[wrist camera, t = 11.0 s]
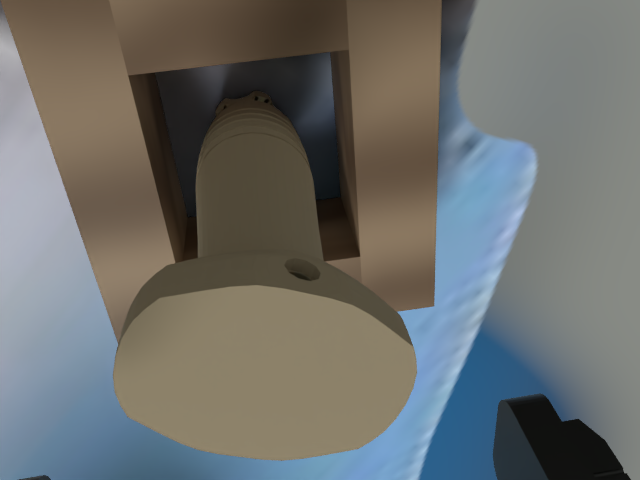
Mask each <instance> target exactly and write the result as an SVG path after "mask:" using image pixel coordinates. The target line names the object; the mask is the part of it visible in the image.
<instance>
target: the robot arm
mask: <svg viewBox="0 0 640 480" xmlns="http://www.w3.org/2000/svg"><path fill="white" fill-rule="evenodd" d="M495 431H496V432H495V439H494V449H493V461H494V468H495V472H496V476H497V479H498V480H631V479H630V478H629V476H628V475H627V474H625V473H624V471H623V467H622V466H621V464H620V462H619V461H618V459H617V458H616V456H615V455H614V453H613V452H612V450H611V449H610V447H609V446H608V444H607V443H606V441H605V440H604V439H603V438H601V437H600V436H599V435H598V434H596V433H595V432H594V431H593V430H592V429H590V428H589V427H588V426H587V425H585V424H584V423H583V422H582V421H580V420H579V419H575V420H569V421H564V422H562V421H561V419H560V418H559V416H558V415H557V413H556V411H555V410H554V408H553V406H552V404H551V403H550V401H549V400H548V399H547V398H546V396H544V395H543V394H534V395H528V396H522V397H517V398H511V399H505V400H501V401H500V402H499V405H498V413H497V422H496V430H495ZM19 480H51V479H50V478H49V477H48V476H46V475H43V476H37V477H31V478H25V479H19Z"/></svg>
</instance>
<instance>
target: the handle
mask: <svg viewBox="0 0 640 480" xmlns="http://www.w3.org/2000/svg"><path fill="white" fill-rule="evenodd" d="M215 114H216V118H215V119H214V121H213V122H212V123H211V125H210V127H209V129H208V131H207V133H206V135H205V138H204V141H203V144H202V147H201V150H200V154H199V159H198V165H197V174H196V209H197V233H198V258H196V259H191V260H186V261H182V262H178V263H174V264H170V265H167V266H165V267H164V268H163V269H161V270H160V271H159V272H157V273H156V274H155V275H153V276H152V277H151V278H150V279H149V280H148V281H147V282H146V283H145V284H144V285H143V286H142V288H141V289H140V291H139V292H138V294H137V296H136V297H135V299H134V300H133V302H132V304H131V306H130V308H129V311H128V314H127V316H126V319H125V322H124V325H123V328H122V331H121V335H120V339H119V343H118V347H117V352H116V356H115V364H114V371H113V380H114V389H115V394H116V396H117V398H118V401H119V403H120V406H121V407H122V409H123V410H124V412H125V413H126V415H127V416H128V417H129V418H131V419H133V420H135V421H137V422H138V423H140V424H142V425H144V426H146V427H148V428H150V429H152V430H154V431H156V432H158V433H160V434H162V435H164V436H166V437H168V438H170V439H172V440H174V441H176V442H178V443H181V444H184V445H186V446H189V447H192V448H194V449H197V450H201V451H206V452H211V453H216V454H222V455H230V456H238V457H246V458H254V459H263V460H281V461H282V460H293V459H303V458H310V457H316V456H322V455H328V454H333V453H338V452H344V451H349V450H355V449H359V448H361V447H362V446H364V445H366V444H367V443H369V442H371V441H372V440H373V439H375V438H376V437H378V436H379V435H380V434H382V433H383V432H384V431H385V430H386V429H387V428H388V427H389V426H390V425H391V424H392V423H393V421H394V420H395V419H396V418H397V416H398V415H399V413H400V412H401V411H402V409H403V408H404V406H405V405H406V403H407V400H408V398H409V396H410V394H411V392H412V390H413V387H414V383H415V378H416V374H417V364H416V356H415V352H414V347H413V344H412V342H411V339H410V337H409V334H408V331H407V329H406V326H405V324H404V322H403V320H402V318H401V316H400V315H399V314H398V313H397V312H396V311H395V310H394V309H393V308H392V307H390V306H389V305H388V304H387V303H386V302H385V301H384V300H382V299H381V298H380V297H379V296H377V295H376V294H375V293H374V292H373V291H371V290H370V289H368V288H367V287H366V286H364V285H363V284H362V283H360V282H359V281H357V280H356V279H354V278H353V277H351V276H349V275H348V274H346V273H345V272H343V271H341V270H340V269H338V268H336V267H334V266H332V265H330V264H328V263H327V262H325V261H324V259H323V253H322V246H321V240H320V233H319V226H318V217H317V209H316V200H315V191H314V183H313V177H312V173H311V169H310V165H309V161H308V158H307V155H306V152H305V149H304V147H303V145H302V143H301V140H300V138H299V136H298V134H297V132H296V130H295V129H294V127H293V125H292V123H291V121H290V119H289V118H288V117H287V116H286V115H284V114H283V113H282V112H281V111H280V110H278V109H277V108H275V107H274V105H273V104H272V101H271V98H270V97H269V95H267V94H266V93H263V92H260V91H253V92H252V93H251V94H250V95H248V96H246V97H243V98H238V99H228V98H225V99H224V100H223V101H222V102H221V103H220V104H219V105H218V107H217V109H216V112H215Z"/></svg>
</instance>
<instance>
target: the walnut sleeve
mask: <svg viewBox="0 0 640 480" xmlns="http://www.w3.org/2000/svg"><path fill="white" fill-rule="evenodd" d="M1 3H2V6H3V9H4V12H5V15H6V18H7V21H8V24H9V27H10V30H11V33H12V35H13V38H14V41H15V44H16V47H17V50H18V53H19V56H20V59H21V62H22V65H23V68H24V70H25V73H26V76H27V79H28V82H29V85H30V88H31V91H32V94H33V97H34V100H35V103H36V105H37V108H38V111H39V114H40V117H41V120H42V123H43V126H44V129H45V132H46V135H47V137H48V140H49V143H50V146H51V149H52V152H53V155H54V158H55V161H56V164H57V167H58V170H59V172H60V175H61V178H62V181H63V184H64V187H65V190H66V193H67V196H68V199H69V202H70V205H71V207H72V210H73V213H74V216H75V219H76V222H77V225H78V228H79V231H80V234H81V237H82V240H83V242H84V245H85V248H86V251H87V254H88V257H89V260H90V263H91V266H92V269H93V272H94V275H95V277H96V280H97V283H98V286H99V289H100V292H101V295H102V298H103V301H104V304H105V307H106V310H107V312H108V315H109V318H110V321H111V324H112V327H113V330H114V333H115V336H116V339H117V342H118V343H119V339H120V335H121V331H122V328H123V325H124V322H125V319H126V316H127V314H128V311H129V308H130V306H131V304H132V302H133V300H134V299H135V297H136V296H137V294H138V292H139V291H140V289H141V288H142V286H143V285H144V284H145V283H146V282H147V281H148V280H149V279H150V278H151V277H152V276H153V275H155V274H156V273H157V272H159V271H160V270H161V269H163V268H164V267H165V266H167V265H170V264H174V263H178V262H182V261H186V260H191V259H196V258H198V233H197V216H195V217H187V212H186V208H185V203H184V199H183V195H182V190H181V186H180V181H179V177H178V173H177V168H176V164H175V160H174V155H173V151H172V146H171V142H170V138H169V133H168V129H167V125H166V120H165V116H164V111H163V107H162V103H161V98H160V94H159V89H158V85H157V81H156V76H155V72H162V71H171V70H179V69H188V68H197V67H205V66H214V65H222V64H231V63H239V62H248V61H257V60H265V59H274V58H282V57H291V56H300V55H308V54H317V53H325V52H330V54H331V68H332V82H333V96H334V110H335V124H336V139H337V153H338V167H339V181H340V195H341V197H339V198H331V199H324V200H316V209H317V217H318V226H319V233H320V240H321V246H322V253H323V259H324V261H325V262H327V263H328V264H330V265H332V266H334V267H336V268H338V269H340V270H341V271H343V272H345V273H346V274H348V275H349V276H351V277H353V278H354V279H356V280H357V281H359V282H360V283H362V284H363V285H364V286H366V287H367V288H368V289H370V290H371V291H373V292H374V293H375V294H376V295H377V296H379V297H380V298H381V299H382V300H384V301H385V302H386V303H387V304H388V305H389V306H390V307H392V308H393V309H394V310H395V311H396V312H398V311H404V310H411V309H418V308H425V307H432V306H434V290H435V250H436V210H437V170H438V130H439V90H440V50H441V10H442V0H1Z"/></svg>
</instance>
